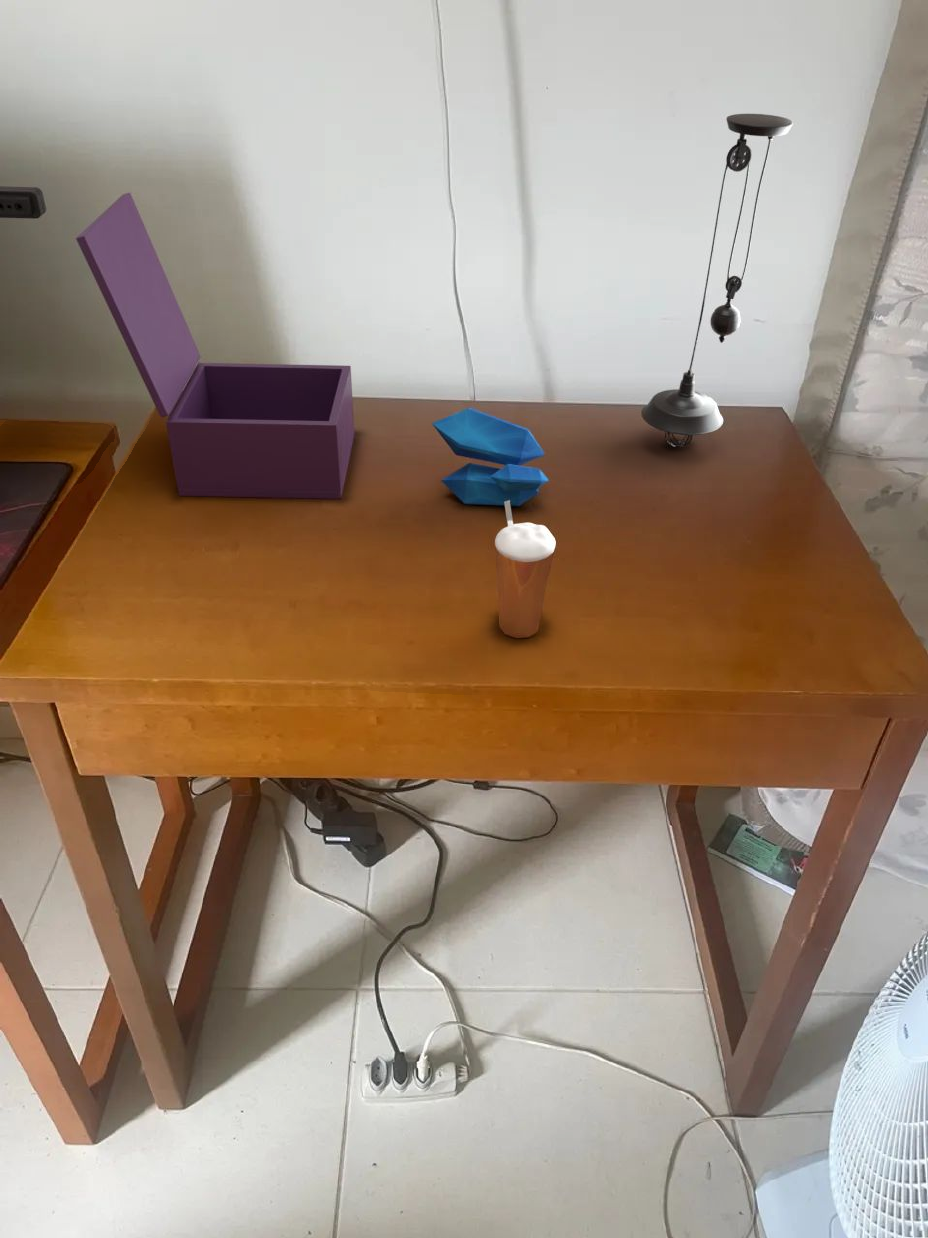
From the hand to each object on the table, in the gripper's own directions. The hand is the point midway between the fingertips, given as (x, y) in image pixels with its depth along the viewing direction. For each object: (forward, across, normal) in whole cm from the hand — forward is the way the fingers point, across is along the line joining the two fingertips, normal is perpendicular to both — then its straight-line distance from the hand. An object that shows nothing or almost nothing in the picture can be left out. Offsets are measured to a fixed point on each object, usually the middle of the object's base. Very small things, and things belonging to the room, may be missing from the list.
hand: (41, 202), depth 85 cm
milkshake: (+42, -26, +25) cm, 55 cm away
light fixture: (+60, +6, +25) cm, 66 cm away
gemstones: (+40, -6, +25) cm, 47 cm away
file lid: (+8, 0, +9) cm, 12 cm away
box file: (+18, 0, +25) cm, 30 cm away
